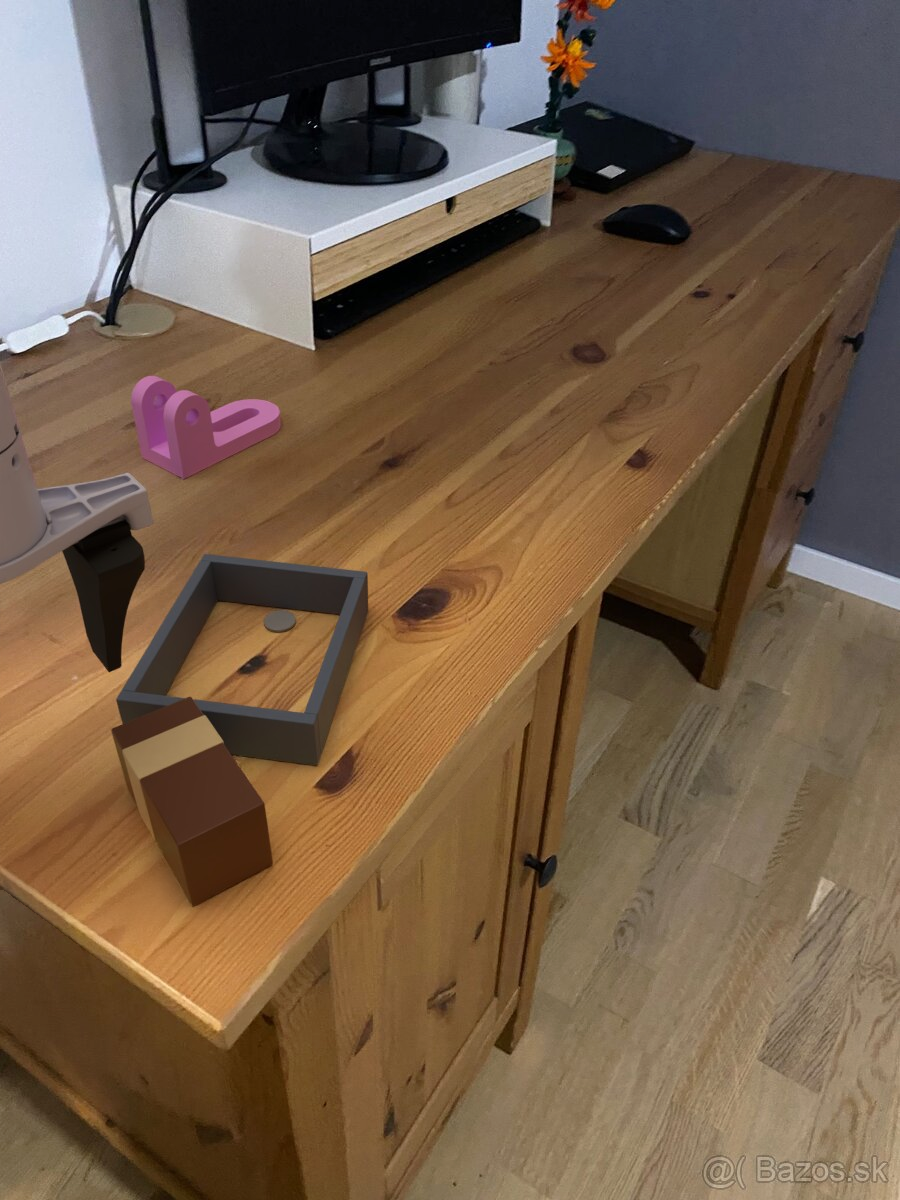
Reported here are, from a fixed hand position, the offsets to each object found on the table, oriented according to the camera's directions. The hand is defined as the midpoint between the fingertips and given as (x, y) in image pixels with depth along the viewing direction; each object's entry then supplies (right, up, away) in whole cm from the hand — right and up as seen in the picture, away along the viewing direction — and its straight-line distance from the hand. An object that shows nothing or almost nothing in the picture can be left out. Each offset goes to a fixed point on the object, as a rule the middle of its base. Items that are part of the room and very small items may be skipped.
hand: (30, 692), depth 44 cm
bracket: (-1, +19, +39) cm, 44 cm away
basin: (+8, 0, +15) cm, 17 cm away
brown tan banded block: (+7, -8, +6) cm, 12 cm away
